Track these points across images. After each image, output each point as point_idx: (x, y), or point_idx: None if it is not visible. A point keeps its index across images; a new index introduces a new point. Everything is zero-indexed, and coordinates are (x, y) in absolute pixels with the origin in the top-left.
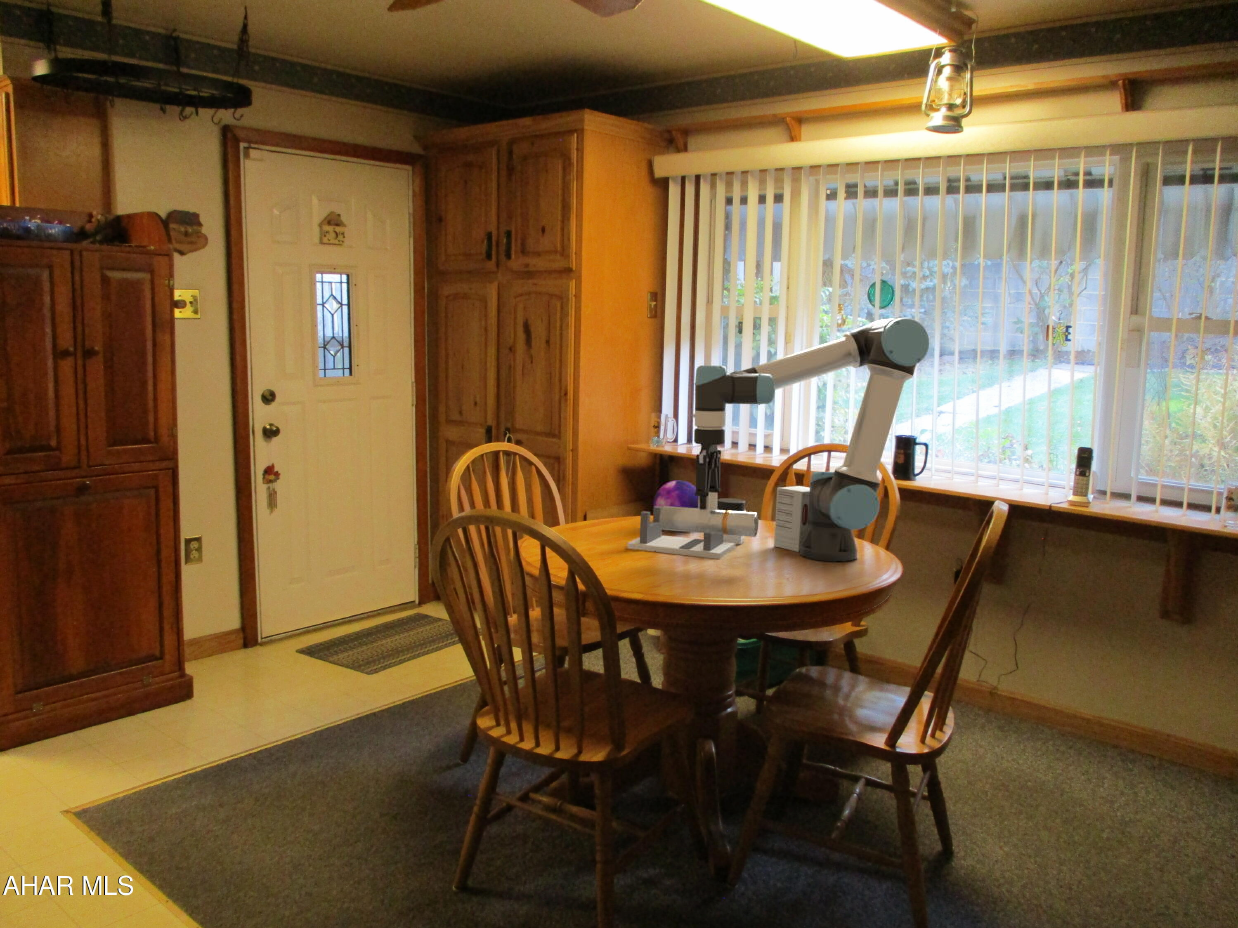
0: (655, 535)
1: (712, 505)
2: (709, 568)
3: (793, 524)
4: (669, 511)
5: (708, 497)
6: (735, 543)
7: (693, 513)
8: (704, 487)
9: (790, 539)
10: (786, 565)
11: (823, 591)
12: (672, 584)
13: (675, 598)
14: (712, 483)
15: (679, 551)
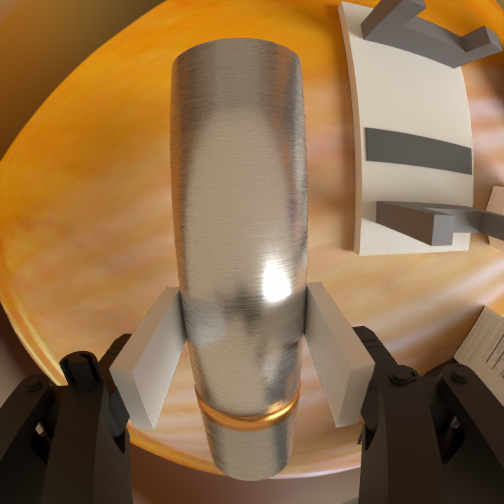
0: (426, 52)
1: (318, 351)
2: None
3: (488, 370)
4: (179, 102)
5: (135, 421)
6: (488, 236)
7: (186, 262)
8: (37, 453)
9: (474, 350)
10: None
11: (182, 450)
12: (48, 246)
13: (3, 283)
14: (371, 461)
15: (356, 132)
